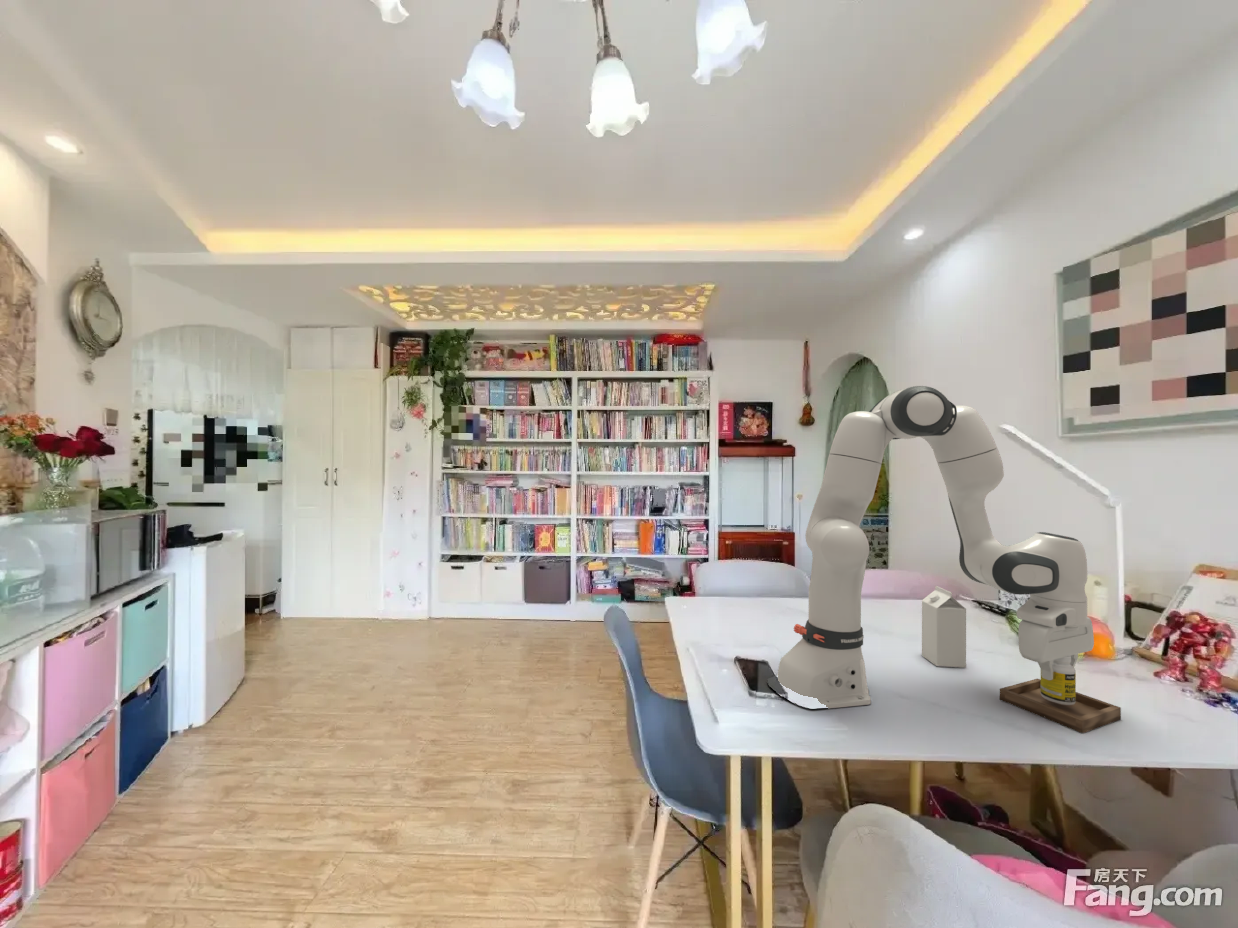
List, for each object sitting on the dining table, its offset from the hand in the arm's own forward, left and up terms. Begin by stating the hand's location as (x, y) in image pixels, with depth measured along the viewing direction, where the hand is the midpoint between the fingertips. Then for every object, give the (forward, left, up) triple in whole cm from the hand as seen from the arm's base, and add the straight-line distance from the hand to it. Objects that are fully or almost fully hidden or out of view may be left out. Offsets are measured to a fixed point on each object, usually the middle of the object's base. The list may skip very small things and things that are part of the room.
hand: (1057, 676), depth 99 cm
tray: (0, 0, -7) cm, 7 cm away
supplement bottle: (0, 0, -5) cm, 5 cm away
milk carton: (+2, +25, -7) cm, 26 cm away
